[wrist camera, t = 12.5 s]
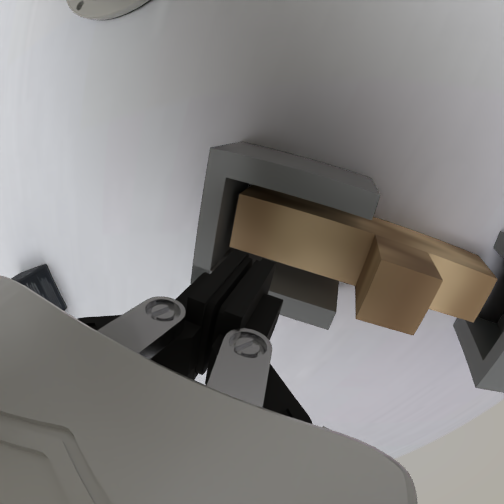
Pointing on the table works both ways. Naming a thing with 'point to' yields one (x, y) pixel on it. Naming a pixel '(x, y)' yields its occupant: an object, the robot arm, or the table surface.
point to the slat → (364, 258)
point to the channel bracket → (484, 345)
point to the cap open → (289, 182)
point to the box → (41, 284)
